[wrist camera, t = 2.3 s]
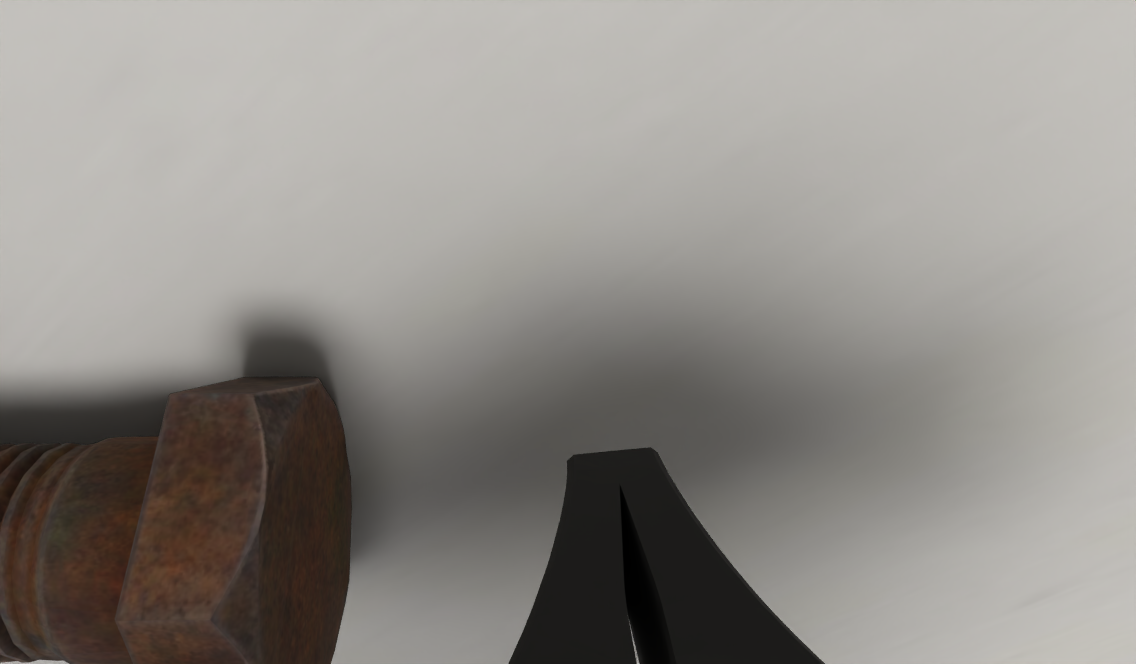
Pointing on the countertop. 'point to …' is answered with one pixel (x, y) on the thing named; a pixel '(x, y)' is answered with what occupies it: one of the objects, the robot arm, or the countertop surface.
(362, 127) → the countertop surface
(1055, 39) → the countertop surface
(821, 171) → the countertop surface
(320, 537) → the bolt
